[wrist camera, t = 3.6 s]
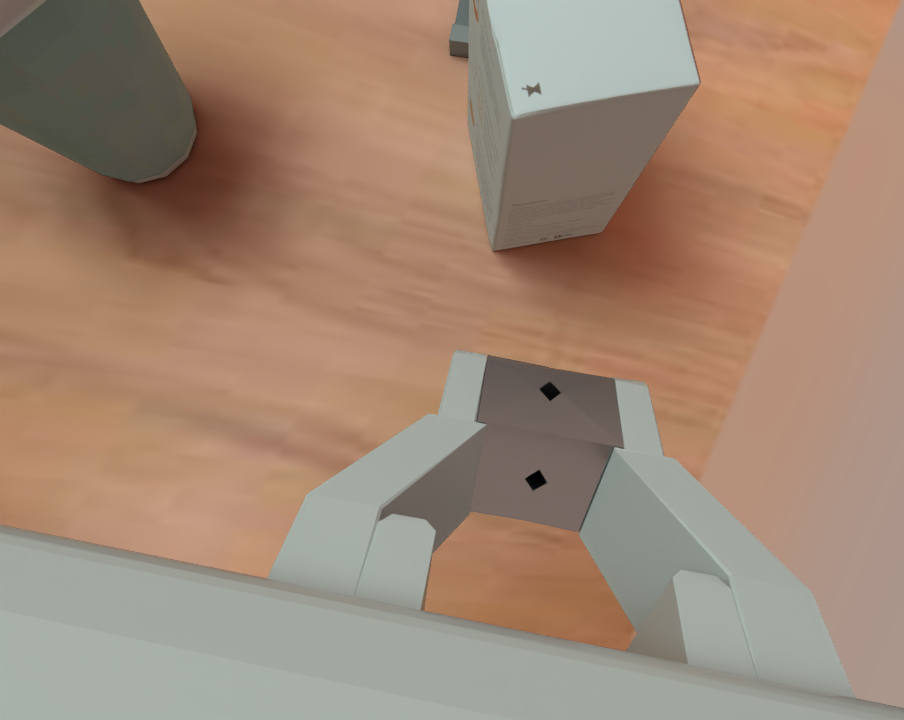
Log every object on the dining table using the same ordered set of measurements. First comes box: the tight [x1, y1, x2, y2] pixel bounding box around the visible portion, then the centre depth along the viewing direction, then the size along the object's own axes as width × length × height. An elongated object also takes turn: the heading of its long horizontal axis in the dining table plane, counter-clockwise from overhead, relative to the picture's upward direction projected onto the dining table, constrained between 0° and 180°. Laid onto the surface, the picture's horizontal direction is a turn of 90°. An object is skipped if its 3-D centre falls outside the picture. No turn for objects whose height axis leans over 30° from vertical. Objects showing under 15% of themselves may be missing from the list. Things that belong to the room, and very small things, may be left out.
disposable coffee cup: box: [0, 0, 197, 183], centre depth 24 cm, size 11×11×15 cm
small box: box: [468, 0, 701, 251], centre depth 24 cm, size 8×6×13 cm
